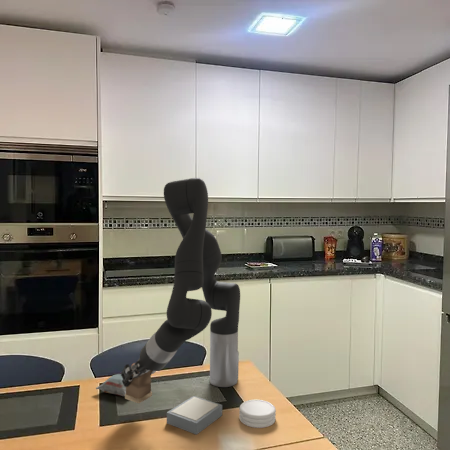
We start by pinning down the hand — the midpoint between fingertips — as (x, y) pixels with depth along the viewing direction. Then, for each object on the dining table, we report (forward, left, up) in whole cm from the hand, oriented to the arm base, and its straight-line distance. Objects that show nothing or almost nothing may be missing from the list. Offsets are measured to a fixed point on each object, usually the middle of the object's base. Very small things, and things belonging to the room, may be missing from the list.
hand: (134, 380), depth 118 cm
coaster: (-17, +30, -10) cm, 36 cm away
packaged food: (-7, -14, -10) cm, 19 cm away
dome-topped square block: (0, +2, -4) cm, 5 cm away
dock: (-7, +16, -10) cm, 20 cm away
